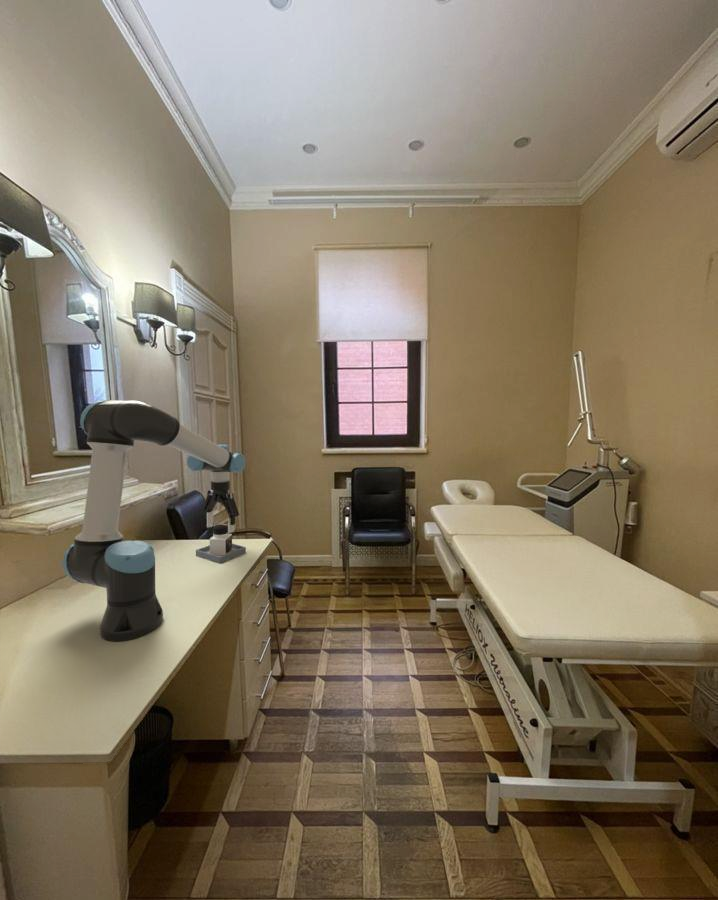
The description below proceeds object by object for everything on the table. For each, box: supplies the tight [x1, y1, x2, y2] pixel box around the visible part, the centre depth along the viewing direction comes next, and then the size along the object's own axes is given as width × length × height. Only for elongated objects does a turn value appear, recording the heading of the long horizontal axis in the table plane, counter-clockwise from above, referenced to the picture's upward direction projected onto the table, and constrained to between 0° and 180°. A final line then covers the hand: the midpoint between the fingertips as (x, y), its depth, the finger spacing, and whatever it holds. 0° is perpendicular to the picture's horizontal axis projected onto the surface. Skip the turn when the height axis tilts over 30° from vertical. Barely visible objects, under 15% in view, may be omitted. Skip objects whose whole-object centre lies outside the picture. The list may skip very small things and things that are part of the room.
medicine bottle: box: [209, 523, 233, 555], centre depth 156 cm, size 7×7×12 cm
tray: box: [195, 542, 247, 564], centre depth 156 cm, size 14×15×2 cm
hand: (220, 529), depth 155 cm, fingers open, 13 cm apart
